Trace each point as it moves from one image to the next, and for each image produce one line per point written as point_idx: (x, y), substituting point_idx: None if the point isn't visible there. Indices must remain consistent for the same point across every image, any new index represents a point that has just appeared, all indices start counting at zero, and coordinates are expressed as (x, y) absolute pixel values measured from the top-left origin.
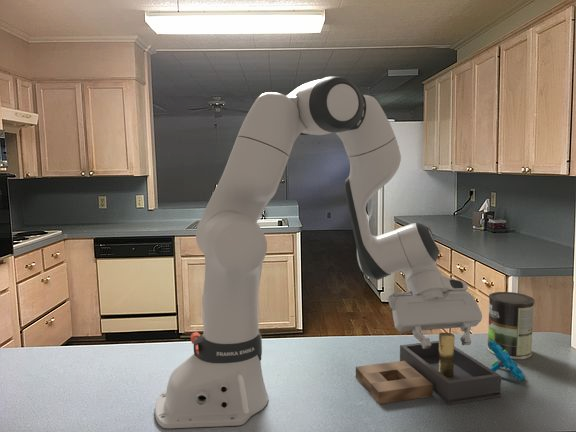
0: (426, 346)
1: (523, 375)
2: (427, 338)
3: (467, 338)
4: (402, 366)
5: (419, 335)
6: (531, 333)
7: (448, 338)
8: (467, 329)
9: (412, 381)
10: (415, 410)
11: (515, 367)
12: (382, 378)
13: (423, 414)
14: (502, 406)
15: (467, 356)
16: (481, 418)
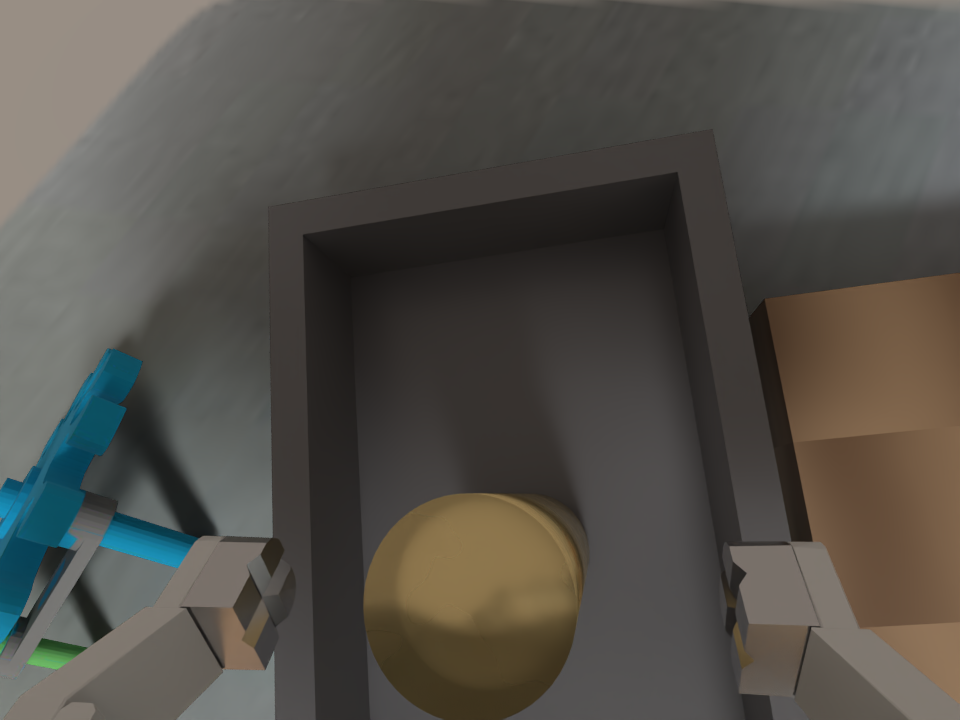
0: (794, 543)
1: (46, 445)
2: (779, 619)
3: (213, 566)
4: (930, 674)
5: (925, 689)
6: None
7: (494, 498)
8: (102, 670)
9: (922, 366)
10: (933, 168)
11: (41, 460)
12: None
13: (893, 123)
14: (385, 169)
15: (297, 579)
16: (565, 69)
